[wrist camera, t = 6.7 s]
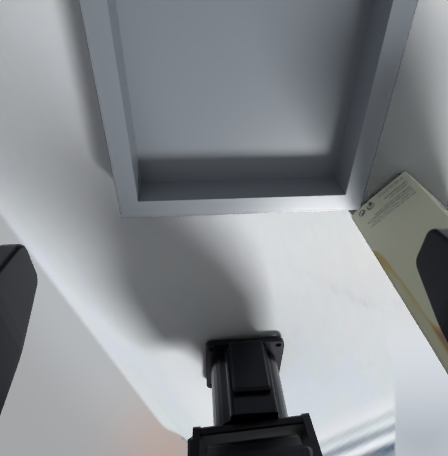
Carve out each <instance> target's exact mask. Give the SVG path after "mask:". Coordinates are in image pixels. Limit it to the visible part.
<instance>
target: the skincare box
mask: <svg viewBox="0 0 448 456" xmlns="http://www.w3.org/2000/svg"><path fill="white" fill-rule="evenodd" d="M352 219H353V221H354V222H355V224H356V226H357V227H358V229H359V230H360V232H361V234H362V235H363V237H364V238H365V240H366V242H367V243H368V245H369V246H370V248H371V250H372V251H373V253H374V254H375V256H376V258H377V259H378V261H379V263H380V264H381V266H382V268H383V269H384V271H385V272H386V274H387V276H388V278H389V279H390V281H391V282H392V284H393V286H394V287H395V289H396V290H397V292H398V294H399V295H400V297H401V298H402V300H403V302H404V303H405V305H406V307H407V308H408V310H409V312H410V313H411V315H412V316H413V318H414V320H415V321H416V323H417V325H418V326H419V328H420V329H421V331H422V333H423V334H424V336H425V337H426V339H427V341H428V342H429V344H430V346H431V347H432V349H433V351H434V352H435V354H436V356H437V357H438V359H439V361H440V362H441V364H442V365H443V367H444V369H445V370H446V372H447V374H448V344H447V342H446V340H445V338H444V336H443V333H442V331H441V329H440V327H439V324H438V322H437V320H436V317H435V315H434V312H433V309H432V307H431V304H430V301H429V299H428V296H427V294H426V291H425V288H424V286H423V283H422V281H421V278H420V275H419V273H418V270H417V267H416V258H417V255H418V253H419V250H420V248H421V246H422V243H423V241H424V239H425V236H426V234H427V232H428V231H429V230H431V229H434V228H448V210H447V209H446V208H445V207H444V206H443V205H442V204H441V203H440V202H439V201H438V200H437V199H436V198H435V197H434V196H433V195H432V194H431V193H430V192H429V191H428V190H427V189H425V188H424V187H423V186H422V185H421V184H420V183H419V182H418V181H417V180H415V179H414V178H413V177H412V176H411V175H410V174H408V173H407V172H403V173H401V174H400V175H399V176H398V177H397V178H395V179H394V180H393V181H392V182H390V183H389V184H388V185H387V186H385V187H384V188H383V189H382V190H380V191H379V192H378V193H377V194H376V195H375V196H373V197H372V198H371V199H370V200H368V201H367V202H366V203H365V204H364V205H363V206H362V207H360V210H357V211H356V212H355V213H354V214H353V215H352Z"/></svg>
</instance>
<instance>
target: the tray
mask: <svg viewBox="0 0 448 456" xmlns="http://www.w3.org/2000/svg"><path fill="white" fill-rule="evenodd" d="M79 2H80V7H81V12H82V17H83V23H84V28H85V33H86V38H87V43H88V48H89V54H90V59H91V64H92V69H93V74H94V79H95V85H96V90H97V95H98V100H99V105H100V110H101V116H102V121H103V126H104V131H105V136H106V141H107V147H108V152H109V157H110V162H111V167H112V172H113V178H114V183H115V188H116V193H117V198H118V203H119V208H120V214H121V218H136V217H165V216H194V215H223V214H252V213H281V212H310V211H340V210H360V207H361V203H362V200H363V196H364V192H365V189H366V185H367V182H368V178H369V174H370V171H371V167H372V164H373V160H374V157H375V153H376V149H377V146H378V142H379V139H380V135H381V132H382V128H383V124H384V121H385V117H386V114H387V110H388V107H389V103H390V99H391V96H392V92H393V89H394V85H395V81H396V78H397V74H398V71H399V67H400V64H401V60H402V56H403V53H404V49H405V46H406V42H407V39H408V35H409V31H410V28H411V24H412V21H413V17H414V14H415V10H416V6H417V3H418V0H79Z"/></svg>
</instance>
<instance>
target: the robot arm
mask: <svg viewBox="0 0 448 456" xmlns="http://www.w3.org/2000/svg"><path fill="white" fill-rule="evenodd" d="M416 267H417V270H418V273H419V275H420V278H421V281H422V283H423V286H424V288H425V291H426V294H427V296H428V299H429V301H430V304H431V307H432V309H433V312H434V315H435V317H436V320H437V322H438V324H439V327H440V329H441V331H442V333H443V336H444V338H445V340H446V342H447V344H448V228H434V229H431V230H429V231H428V232H427V234H426V236H425V239H424V241H423V243H422V246H421V248H420V250H419V253H418V255H417V258H416ZM36 288H37V274H36V271H35V269H34V266H33V264H32V261H31V259H30V256H29V254H28V251H27V249H26V248H25V247H24V246H23V245H21V244H9V245H1V246H0V414H1V411H2V408H3V406H4V403H5V400H6V397H7V394H8V391H9V389H10V386H11V383H12V380H13V377H14V374H15V371H16V368H17V365H18V363H19V359H20V356H21V353H22V350H23V346H24V341H25V337H26V333H27V327H28V323H29V319H30V315H31V310H32V306H33V301H34V296H35V292H36ZM283 348H284V342H283V339H282V338H280V337H275V338H258V339H240V340H222V341H209V342H207V343H206V374H207V387H209V388H212V398H213V418H214V426H211V427H203V428H201V427H193V437H191V438H190V439H188V456H322V452H321V449H320V446H319V443H318V440H317V437H316V434H315V431H314V428H313V425H312V422H311V419H310V416H309V413H305V414H301V415H300V416H292V417H288V415H287V410H286V405H285V400H284V396H283V391H282V386H281V381H280V376H279V371H280V365H281V360H282V354H283Z"/></svg>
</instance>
